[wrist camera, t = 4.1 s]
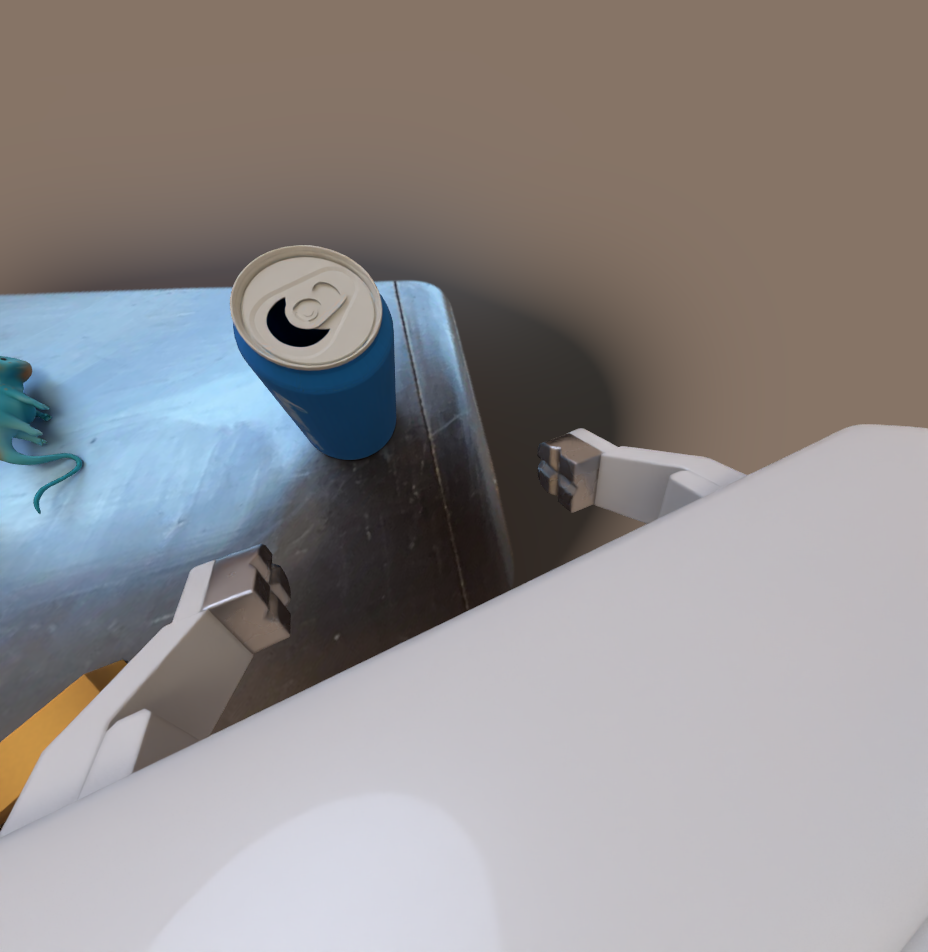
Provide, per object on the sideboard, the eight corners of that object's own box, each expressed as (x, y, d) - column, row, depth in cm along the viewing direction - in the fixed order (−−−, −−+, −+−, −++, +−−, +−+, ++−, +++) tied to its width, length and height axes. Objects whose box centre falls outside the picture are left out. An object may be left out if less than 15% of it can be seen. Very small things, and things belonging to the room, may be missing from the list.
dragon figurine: (146, 405, 21) (-20, 309, 18) (26, 496, 17) (-225, 391, 13) (145, 446, 26) (12, 376, 22) (51, 527, 21) (-134, 454, 18)
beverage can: (285, 428, 23) (175, 308, 12) (343, 365, 25) (297, 210, 14) (360, 480, 24) (322, 410, 12) (413, 414, 26) (423, 299, 14)
